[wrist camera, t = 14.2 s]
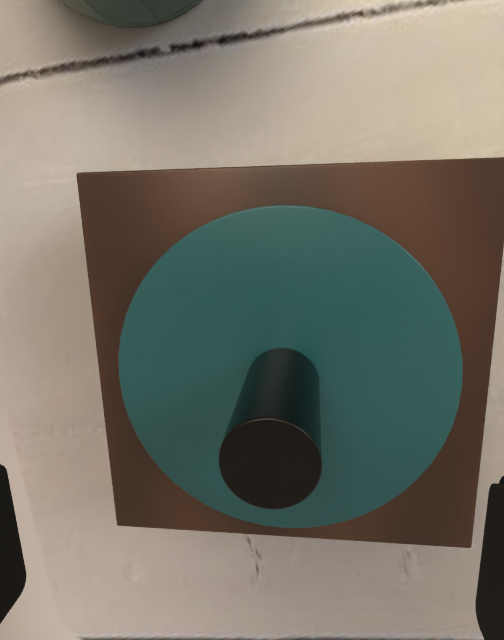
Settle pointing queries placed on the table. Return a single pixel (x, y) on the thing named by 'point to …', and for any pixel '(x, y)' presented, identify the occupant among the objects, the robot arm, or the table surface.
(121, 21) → the pot
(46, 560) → the table surface
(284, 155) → the table surface
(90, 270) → the wooden box
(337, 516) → the lid
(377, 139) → the table surface
